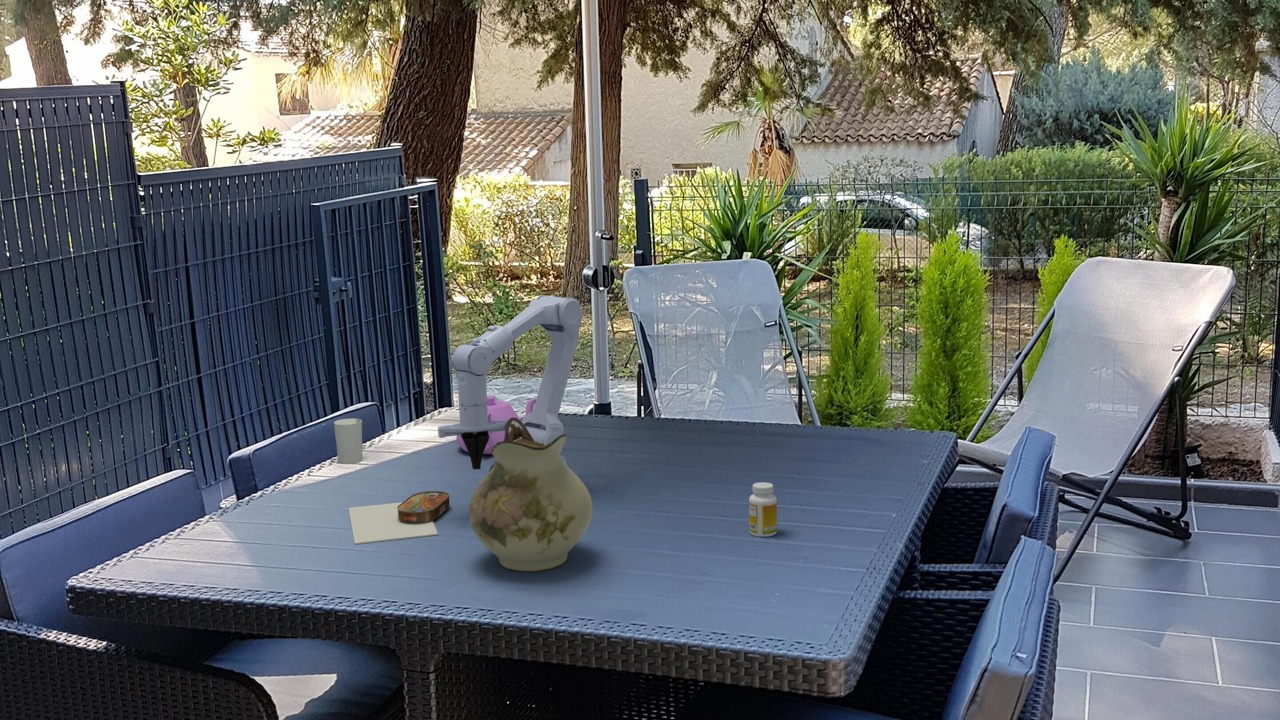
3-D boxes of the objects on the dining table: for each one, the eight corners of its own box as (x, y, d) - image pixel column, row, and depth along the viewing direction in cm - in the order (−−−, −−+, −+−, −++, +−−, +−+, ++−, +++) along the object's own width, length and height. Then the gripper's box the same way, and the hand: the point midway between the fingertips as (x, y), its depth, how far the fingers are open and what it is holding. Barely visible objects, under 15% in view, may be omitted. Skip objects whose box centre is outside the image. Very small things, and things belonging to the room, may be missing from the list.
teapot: (538, 459, 284) (536, 404, 282) (450, 461, 285) (447, 406, 282) (546, 437, 306) (544, 386, 304) (464, 439, 306) (462, 387, 304)
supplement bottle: (779, 529, 228) (779, 482, 226) (773, 538, 223) (773, 489, 221) (752, 527, 230) (752, 480, 228) (746, 536, 225) (745, 487, 223)
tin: (429, 512, 234) (390, 508, 236) (429, 527, 235) (390, 523, 236) (455, 491, 249) (418, 487, 250) (455, 505, 249) (418, 501, 251)
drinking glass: (370, 459, 288) (367, 420, 286) (350, 465, 282) (347, 425, 281) (350, 456, 291) (348, 417, 290) (330, 462, 286) (328, 422, 284)
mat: (424, 501, 252) (424, 499, 252) (437, 535, 229) (437, 533, 229) (348, 509, 248) (348, 507, 248) (354, 544, 225) (354, 543, 225)
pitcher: (545, 590, 199) (539, 449, 195) (441, 567, 212) (433, 433, 207) (616, 551, 218) (613, 421, 213) (517, 532, 230) (511, 409, 226)
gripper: (504, 396, 242) (507, 459, 245) (434, 402, 238) (438, 466, 240) (511, 403, 236) (513, 468, 238) (439, 409, 231) (443, 475, 234)
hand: (476, 468), depth 239 cm, fingers closed
